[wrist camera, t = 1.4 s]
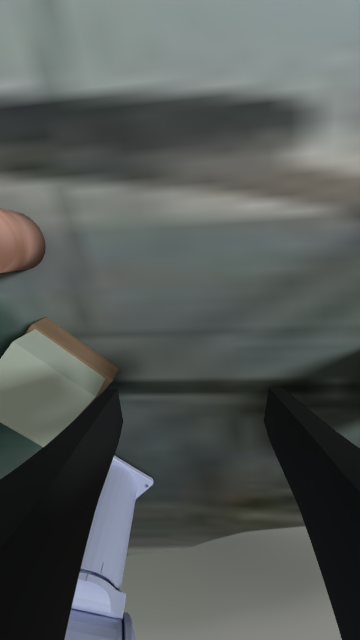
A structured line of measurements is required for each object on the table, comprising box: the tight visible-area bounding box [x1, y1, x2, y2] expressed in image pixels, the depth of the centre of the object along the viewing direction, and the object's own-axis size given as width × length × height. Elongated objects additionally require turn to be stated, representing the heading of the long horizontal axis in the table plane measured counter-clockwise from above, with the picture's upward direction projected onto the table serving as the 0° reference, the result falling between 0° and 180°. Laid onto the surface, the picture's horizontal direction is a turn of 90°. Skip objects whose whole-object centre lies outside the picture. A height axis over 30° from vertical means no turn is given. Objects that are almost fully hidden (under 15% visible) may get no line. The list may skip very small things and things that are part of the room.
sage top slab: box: [0, 329, 106, 447], centre depth 18 cm, size 7×7×2 cm
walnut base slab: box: [25, 317, 119, 416], centre depth 20 cm, size 8×8×2 cm
